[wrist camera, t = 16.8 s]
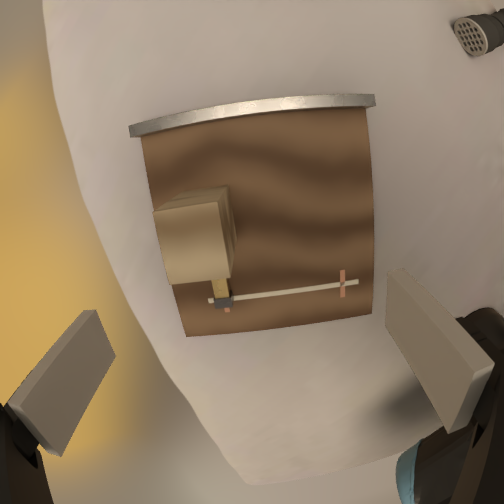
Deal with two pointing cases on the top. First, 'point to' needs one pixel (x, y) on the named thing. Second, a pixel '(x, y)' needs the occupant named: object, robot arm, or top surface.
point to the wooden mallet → (199, 239)
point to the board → (275, 206)
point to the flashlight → (480, 32)
